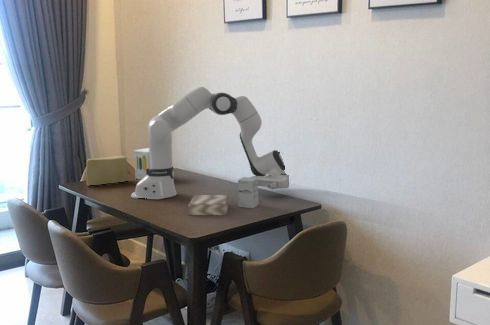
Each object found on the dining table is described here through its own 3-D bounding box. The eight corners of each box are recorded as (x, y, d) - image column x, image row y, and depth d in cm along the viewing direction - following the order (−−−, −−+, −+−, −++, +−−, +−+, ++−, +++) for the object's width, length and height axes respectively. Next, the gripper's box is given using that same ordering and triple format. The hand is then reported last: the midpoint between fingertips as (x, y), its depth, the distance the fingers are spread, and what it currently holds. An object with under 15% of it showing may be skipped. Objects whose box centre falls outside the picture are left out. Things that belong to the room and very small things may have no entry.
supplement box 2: (237, 207, 229) (237, 179, 227) (243, 203, 235) (243, 176, 233) (253, 208, 226) (252, 180, 224) (258, 204, 233) (258, 177, 231)
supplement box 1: (134, 179, 294) (133, 150, 291) (152, 176, 304) (151, 147, 301) (149, 182, 285) (147, 151, 283) (167, 178, 295) (166, 149, 292)
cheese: (90, 188, 274) (88, 160, 272) (84, 185, 282) (82, 158, 279) (128, 182, 287) (127, 156, 285) (121, 179, 295) (120, 154, 292)
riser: (188, 215, 217) (188, 203, 216) (194, 205, 233) (193, 194, 232) (225, 214, 216) (225, 203, 215) (228, 205, 232) (228, 194, 231)
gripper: (254, 172, 256) (241, 176, 244) (291, 175, 246) (279, 180, 235) (254, 184, 257) (241, 189, 245) (291, 187, 248) (279, 193, 236)
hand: (260, 185), depth 240 cm, fingers open, 8 cm apart
